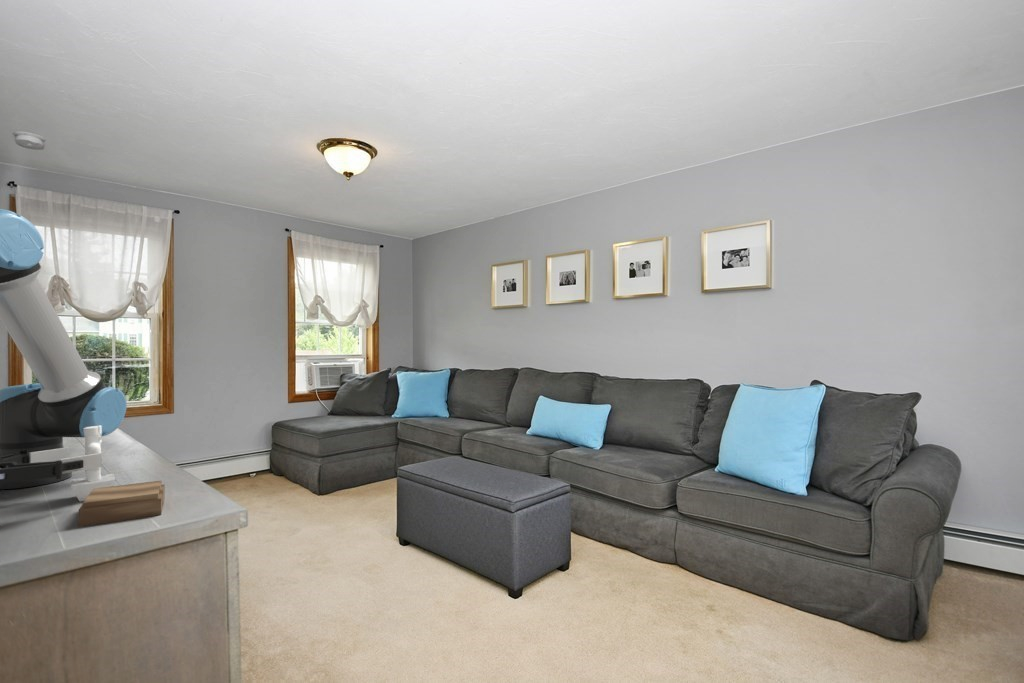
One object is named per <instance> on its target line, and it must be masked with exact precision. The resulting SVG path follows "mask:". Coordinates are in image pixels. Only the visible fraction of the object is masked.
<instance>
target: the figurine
mask: <svg viewBox="0 0 1024 683" xmlns="http://www.w3.org/2000/svg"><path fill="white" fill-rule="evenodd" d="M83 431H84V436H85V438H84V455H91V454H97V453H101V454H102V449H101V448H102V447H101V446H102V445H101V444H102V443H103V440H102V437H103V436H102V434H101V433H102V426H101V425H98V426H91V427H86V428H83ZM101 468H102V466H101V467H98V468H92V469H86V470H84V477H81V478H79V477H77V478H72V479H70V480H69V481H70V483H69V484H70V489H71V490H72V491H73V493H74V495H75V497H76V498H77V499H78V501H79V502H84V501H85V499H86V498H87V497H88V495H89V494H90V493H91V491H92V490H93V489H94V488H103V487H111V486H114V484H115V482H116V477H115V475H114V473H108V474H102V475H101V472H102V471H101Z"/></svg>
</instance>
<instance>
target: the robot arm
mask: <svg viewBox="0 0 1024 683" xmlns="http://www.w3.org/2000/svg"><path fill="white" fill-rule="evenodd" d="M44 248H45V245H44V240H43V237H42V235H41V234H40V232H39V230H38V229H37V227H36V226H35V225H34V223H32V222H31V221H30V220H29V219H27V218H26V217H24V216H22V215H21V214H19V213H16V212H14V211H12V210H8V209H5V208H4V209H3V208H0V322H1V323H2V325H3V326H4V328H5V329H6V332H7V333H8V334H9V336H10V337H11V339H12V340H13V342H14V345H15V346H16V348H17V349H18V351H19V352H20V354H21V355H22V357H23V359H24V361H26V363H27V365H28V366H29V369H30V370H31V371H32V374H34V376H35V379H36V380H37V383H27V384H19V385H12V386H11V385H10V386H5V387H2V388H0V490H10V489H11V490H12V489H13V490H14V489H22V488H30V487H36V486H37V487H38V486H42V485H43V486H44V485H47V484H54V483H58V482H61V481H64V480H66V479H69V478H71V477H72V476H73V473H75V472H80V471H85V470H86V469H92V468H98V467H101V468H102V452H101V453H97V454H91V455H85V454H84V455H79V456H72V457H71V447H69V446H67V447H64V445H63V444H64V441H63V440H64V439H63V438H84V439H85V436H84V431H83V428H86V427H91V426H98V425H101V426H102V433H101V434H102V437H106V436H108V435H110V434H112V433H114V432H115V431H116V430H117V429H118V428H119V426H120V425H121V424H122V423H123V421H124V419H125V415H126V413H127V409H128V408H127V406H128V405H127V398H126V396H125V394H124V392H123V391H122V390H121V389H119V388H115V387H114V386H106V384H105V382H104V380H103V379H102V377H101V375H100V374H99V373H98V372H95V371H91V370H88V367H87V366H86V364H85V362H84V360H83V359H82V358H81V355H80V353H79V351H78V350H77V348H76V346H75V345H74V342H73V341H72V339H71V337H70V335H69V334H68V332H67V329H66V327H65V326H64V324H63V323H62V321H61V319H60V317H59V315H58V314H57V312H56V310H55V308H54V306H53V305H52V303H51V300H50V299H49V297H48V295H47V294H46V292H45V290H44V288H43V287H42V285H41V283H40V281H39V279H38V276H39V274H40V272H41V270H42V266H41V264H40V261H41V260H42V258H43V256H44V251H42V250H44Z"/></svg>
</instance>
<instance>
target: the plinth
mask: <svg viewBox="0 0 1024 683" xmlns="http://www.w3.org/2000/svg"><path fill="white" fill-rule="evenodd" d="M165 493H166V492H165V484H162V480H156V481H155V480H153V481H145V482H137V483H128V484H120V485H113V486H111V487H103V488H94V489H93V490H92V491H91V493H90V494H89V495H88V497H87V498H86V499H85V501H82V504H81V506H80V507H79V508H78V528H80V527H88V526H95V525H101V524H108V523H114V522H120V521H121V522H122V521H128V520H135V519H140V518H148V517H155V516H161V515H162V512H163V507H164V505H165V504H164V503H165Z"/></svg>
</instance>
